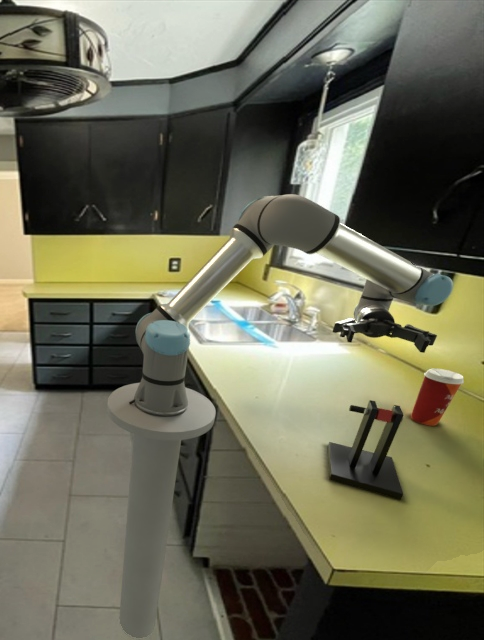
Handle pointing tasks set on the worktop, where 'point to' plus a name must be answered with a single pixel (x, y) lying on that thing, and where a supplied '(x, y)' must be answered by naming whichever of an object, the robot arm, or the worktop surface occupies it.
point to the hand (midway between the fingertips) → (386, 341)
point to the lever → (381, 414)
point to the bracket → (368, 457)
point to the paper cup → (435, 395)
